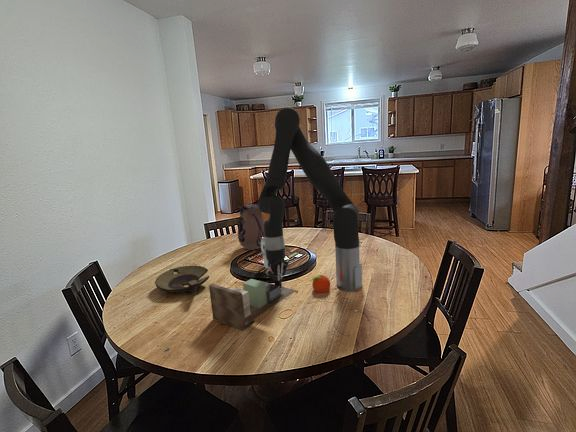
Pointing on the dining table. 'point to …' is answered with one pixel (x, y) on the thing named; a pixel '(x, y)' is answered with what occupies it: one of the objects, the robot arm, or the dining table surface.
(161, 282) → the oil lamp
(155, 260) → the dining table surface
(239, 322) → the book shelf
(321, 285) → the tomato
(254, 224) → the ceramic pitcher
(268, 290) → the dark gray rectangular block
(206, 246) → the dining table surface
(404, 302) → the dining table surface
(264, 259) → the beer glass
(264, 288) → the pale green chunky prism
